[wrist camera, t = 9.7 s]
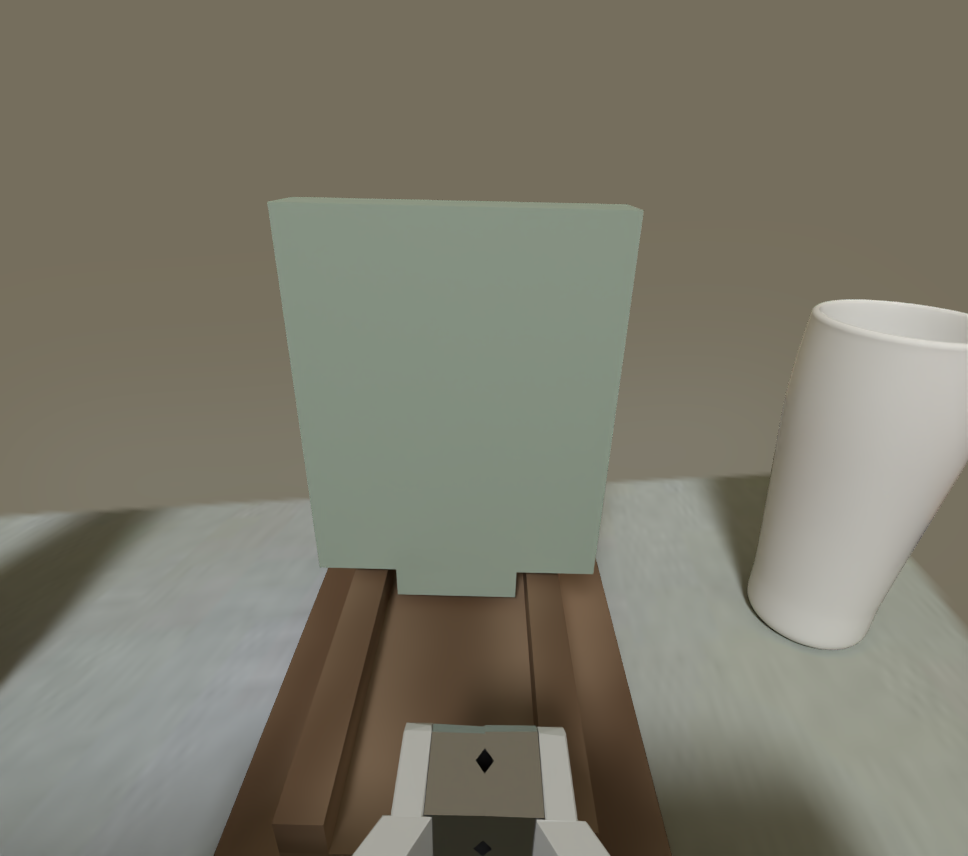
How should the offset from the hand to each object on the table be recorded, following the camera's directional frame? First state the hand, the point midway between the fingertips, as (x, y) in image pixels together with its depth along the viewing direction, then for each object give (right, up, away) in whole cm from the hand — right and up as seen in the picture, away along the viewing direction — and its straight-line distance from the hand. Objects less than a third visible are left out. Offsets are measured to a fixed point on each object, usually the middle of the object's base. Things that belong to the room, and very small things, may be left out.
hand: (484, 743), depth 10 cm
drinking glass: (+16, -3, +17) cm, 24 cm away
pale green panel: (-1, 0, +11) cm, 11 cm away
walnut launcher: (-1, -5, +14) cm, 14 cm away
